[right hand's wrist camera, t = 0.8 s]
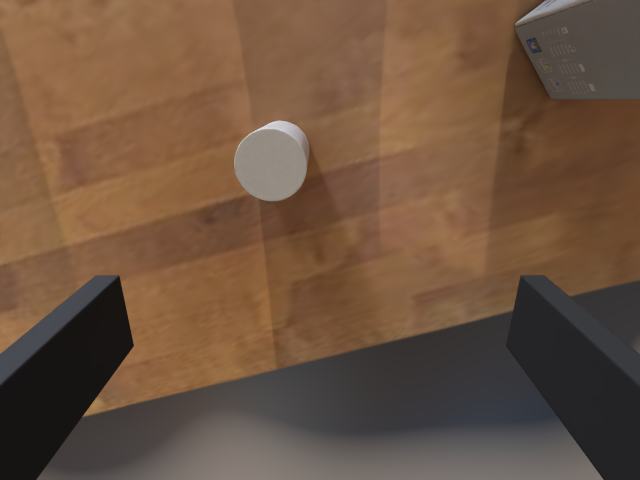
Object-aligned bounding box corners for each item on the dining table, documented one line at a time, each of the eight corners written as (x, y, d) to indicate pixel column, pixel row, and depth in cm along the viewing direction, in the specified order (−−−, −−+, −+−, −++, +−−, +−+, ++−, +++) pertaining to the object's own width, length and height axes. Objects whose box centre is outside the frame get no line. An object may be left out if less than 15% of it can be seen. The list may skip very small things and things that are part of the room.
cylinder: (241, 144, 36) (218, 159, 28) (285, 108, 35) (275, 112, 26) (278, 188, 37) (266, 215, 29) (320, 155, 36) (321, 172, 28)
